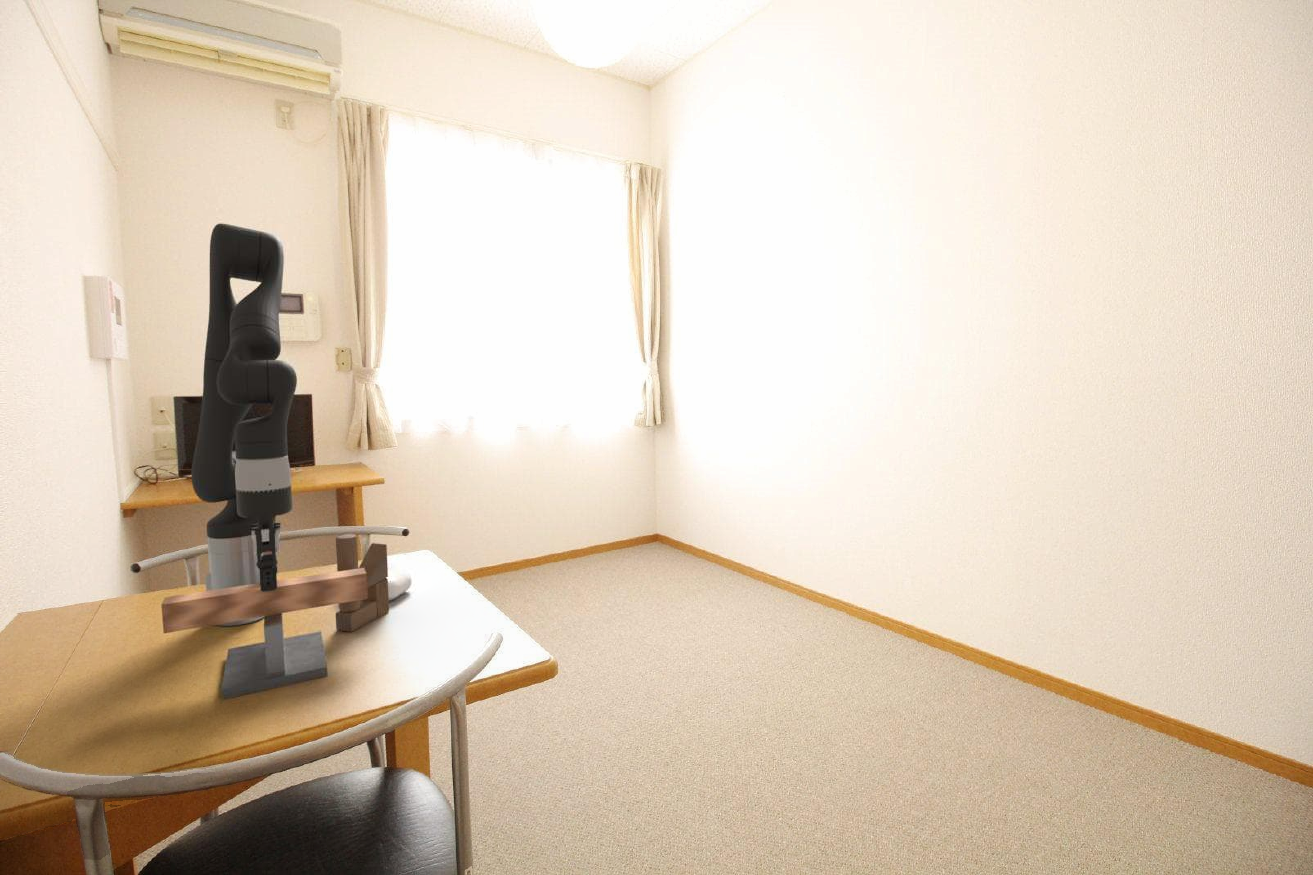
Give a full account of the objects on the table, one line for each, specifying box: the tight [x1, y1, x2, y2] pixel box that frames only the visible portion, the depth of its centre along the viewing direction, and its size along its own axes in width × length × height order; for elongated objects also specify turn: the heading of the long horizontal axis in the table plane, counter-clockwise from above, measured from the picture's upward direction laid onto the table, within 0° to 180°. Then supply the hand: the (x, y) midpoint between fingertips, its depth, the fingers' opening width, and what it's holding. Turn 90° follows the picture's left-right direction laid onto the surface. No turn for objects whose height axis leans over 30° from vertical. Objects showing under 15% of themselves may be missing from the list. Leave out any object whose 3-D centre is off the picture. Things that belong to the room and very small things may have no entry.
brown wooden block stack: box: [335, 533, 390, 633], centre depth 120 cm, size 4×11×18 cm, turn 165°
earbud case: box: [360, 569, 412, 602], centre depth 135 cm, size 10×13×5 cm
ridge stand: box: [220, 613, 329, 700], centre depth 102 cm, size 16×14×10 cm
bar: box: [160, 567, 368, 634], centre depth 101 cm, size 28×4×4 cm, turn 122°
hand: (269, 582), depth 101 cm, fingers open, 8 cm apart
